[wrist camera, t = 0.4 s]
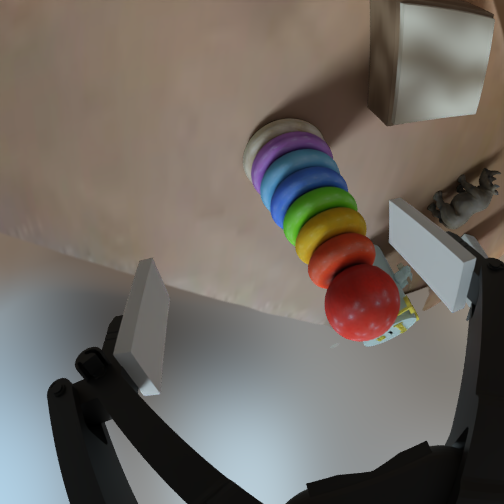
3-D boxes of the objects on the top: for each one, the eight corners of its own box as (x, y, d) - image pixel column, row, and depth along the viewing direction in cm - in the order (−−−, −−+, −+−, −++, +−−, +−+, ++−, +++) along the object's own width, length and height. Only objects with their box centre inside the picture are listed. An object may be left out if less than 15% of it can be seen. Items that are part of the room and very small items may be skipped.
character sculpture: (403, 259, 55) (436, 321, 47) (353, 290, 59) (380, 352, 51) (377, 209, 40) (427, 294, 32) (308, 253, 44) (344, 340, 36)
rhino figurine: (488, 168, 39) (511, 194, 35) (428, 212, 44) (447, 241, 41) (488, 153, 36) (512, 180, 32) (424, 199, 41) (445, 230, 38)
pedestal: (369, -11, 17) (400, -1, 14) (467, 2, 17) (497, 16, 14) (367, 107, 26) (390, 129, 24) (453, 97, 27) (476, 116, 24)
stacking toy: (239, 187, 31) (302, 373, 20) (241, 117, 25) (334, 327, 14) (312, 178, 33) (396, 342, 22) (327, 113, 26) (451, 289, 16)
